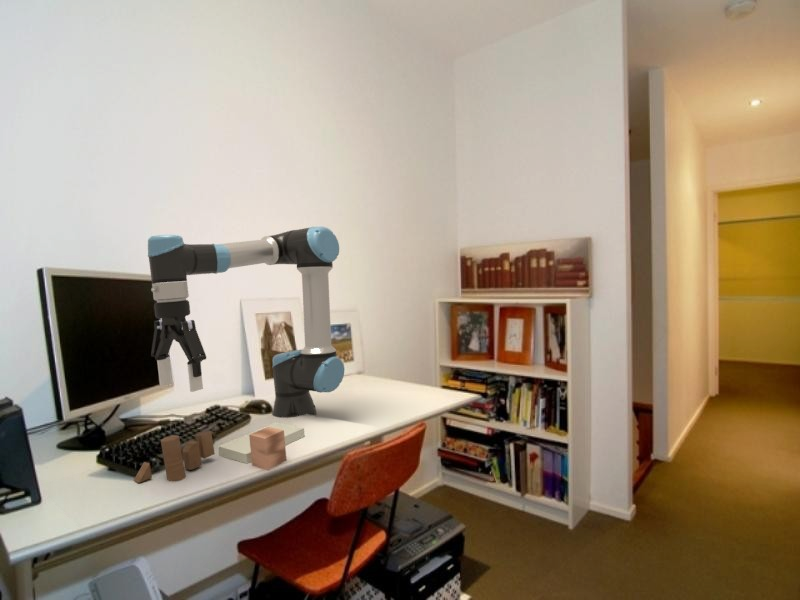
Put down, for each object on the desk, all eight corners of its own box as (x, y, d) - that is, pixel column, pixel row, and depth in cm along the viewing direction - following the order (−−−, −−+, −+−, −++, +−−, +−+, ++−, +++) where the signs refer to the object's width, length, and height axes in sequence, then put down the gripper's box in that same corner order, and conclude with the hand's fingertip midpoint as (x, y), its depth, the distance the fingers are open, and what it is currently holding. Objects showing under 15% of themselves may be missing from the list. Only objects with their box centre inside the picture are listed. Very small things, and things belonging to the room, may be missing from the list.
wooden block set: (206, 457, 118) (200, 420, 118) (224, 462, 113) (217, 422, 113) (134, 488, 104) (127, 445, 104) (150, 494, 99) (143, 450, 98)
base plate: (277, 430, 136) (276, 422, 135) (304, 436, 129) (303, 427, 129) (219, 455, 119) (218, 446, 119) (247, 463, 112) (246, 454, 112)
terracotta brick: (271, 456, 116) (268, 426, 116) (286, 460, 113) (283, 430, 112) (252, 465, 111) (249, 434, 111) (267, 470, 108) (264, 438, 107)
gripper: (129, 302, 109) (139, 386, 111) (185, 301, 95) (195, 397, 97) (160, 299, 115) (168, 379, 117) (216, 298, 101) (225, 388, 103)
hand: (180, 387), depth 107 cm, fingers open, 13 cm apart
